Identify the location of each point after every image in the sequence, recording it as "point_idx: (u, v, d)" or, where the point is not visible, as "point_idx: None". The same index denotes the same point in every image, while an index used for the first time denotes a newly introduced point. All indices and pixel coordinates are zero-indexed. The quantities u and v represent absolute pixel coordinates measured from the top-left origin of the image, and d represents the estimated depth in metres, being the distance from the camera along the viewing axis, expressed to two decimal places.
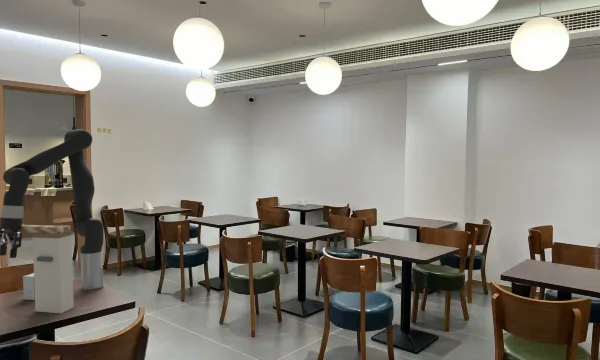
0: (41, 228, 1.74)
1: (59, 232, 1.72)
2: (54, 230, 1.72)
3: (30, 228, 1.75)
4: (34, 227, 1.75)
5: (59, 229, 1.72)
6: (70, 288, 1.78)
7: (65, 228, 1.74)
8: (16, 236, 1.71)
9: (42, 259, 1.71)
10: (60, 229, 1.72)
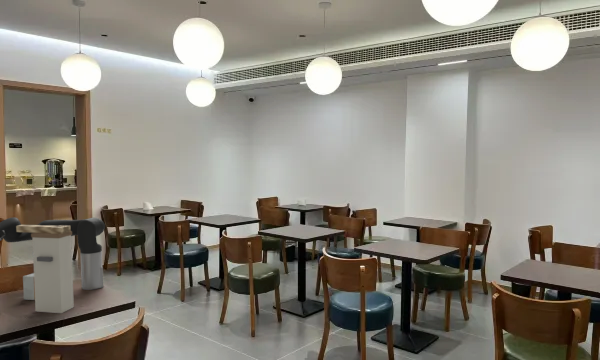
0: (41, 228, 1.74)
1: (59, 232, 1.72)
2: (54, 230, 1.72)
3: (30, 228, 1.75)
4: (34, 227, 1.75)
5: (59, 229, 1.72)
6: (70, 288, 1.78)
7: (65, 228, 1.74)
8: None
9: (42, 259, 1.71)
10: (60, 229, 1.72)
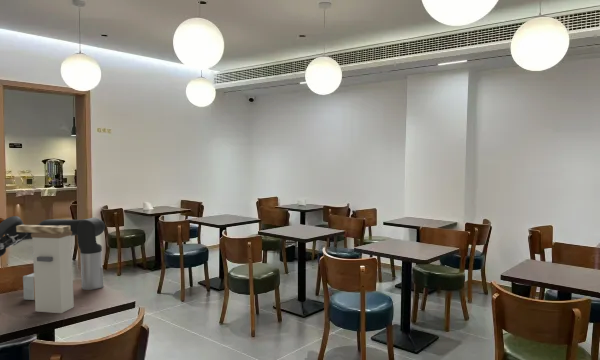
0: (41, 228, 1.74)
1: (59, 232, 1.72)
2: (54, 230, 1.72)
3: (30, 228, 1.75)
4: (34, 227, 1.75)
5: (59, 229, 1.72)
6: (70, 288, 1.78)
7: (65, 228, 1.74)
8: None
9: (42, 259, 1.71)
10: (60, 229, 1.72)
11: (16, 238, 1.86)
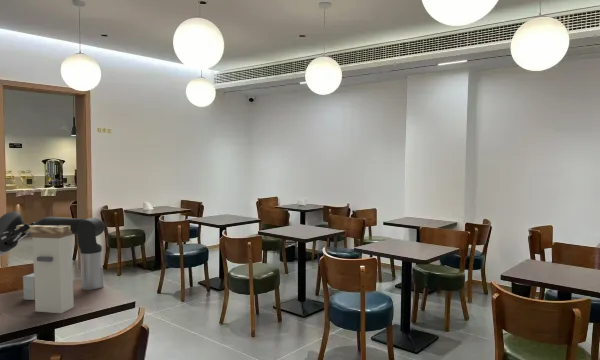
0: (41, 228, 1.74)
1: (59, 232, 1.72)
2: (54, 230, 1.72)
3: (30, 228, 1.75)
4: (34, 227, 1.75)
5: (59, 229, 1.72)
6: (70, 288, 1.78)
7: (65, 228, 1.74)
8: (5, 238, 1.73)
9: (42, 259, 1.71)
10: (60, 229, 1.72)
11: None
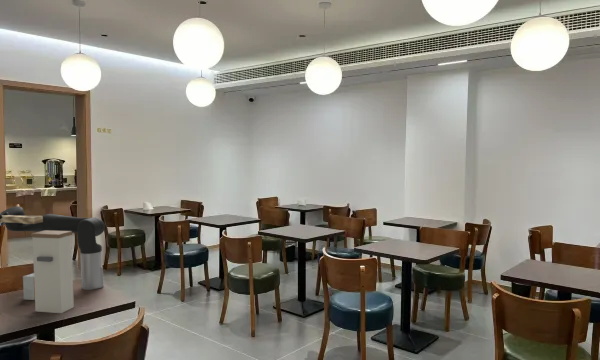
0: (13, 218, 1.77)
1: (31, 222, 1.74)
2: (25, 220, 1.74)
3: (3, 218, 1.77)
4: (6, 217, 1.77)
5: (31, 219, 1.74)
6: (70, 288, 1.78)
7: (37, 218, 1.76)
8: None
9: (42, 259, 1.71)
10: (32, 219, 1.74)
11: None
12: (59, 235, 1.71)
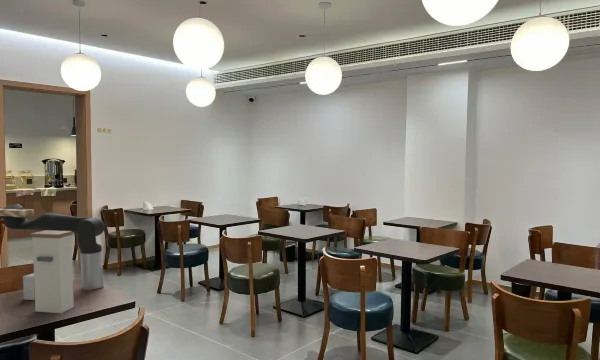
0: (4, 211, 1.77)
1: (22, 215, 1.75)
2: (16, 213, 1.75)
3: None
4: None
5: (22, 212, 1.74)
6: (70, 288, 1.78)
7: (28, 211, 1.76)
8: None
9: (42, 259, 1.71)
10: (23, 212, 1.74)
11: None
12: (59, 235, 1.71)
